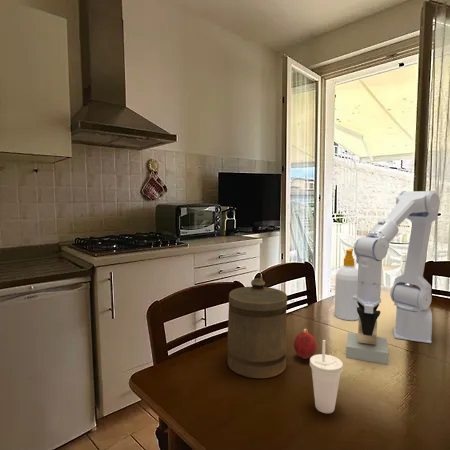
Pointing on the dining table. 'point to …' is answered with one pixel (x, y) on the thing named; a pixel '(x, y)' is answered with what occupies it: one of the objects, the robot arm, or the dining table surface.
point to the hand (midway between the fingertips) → (367, 331)
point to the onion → (305, 344)
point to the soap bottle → (346, 289)
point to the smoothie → (325, 380)
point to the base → (367, 349)
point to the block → (367, 338)
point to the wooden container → (257, 330)
